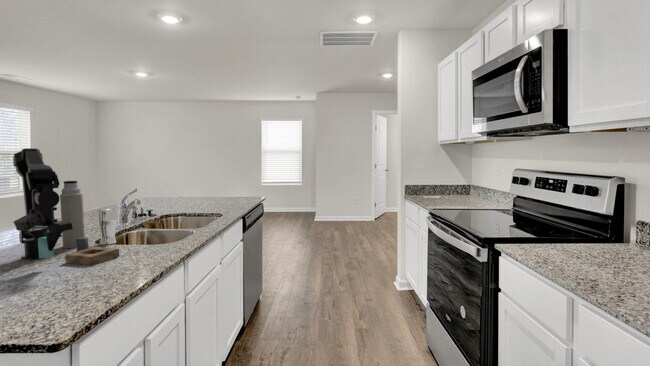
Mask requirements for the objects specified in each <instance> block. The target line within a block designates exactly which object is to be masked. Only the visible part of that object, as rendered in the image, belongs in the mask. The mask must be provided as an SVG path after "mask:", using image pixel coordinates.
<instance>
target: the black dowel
mask: <svg viewBox="0 0 650 366" xmlns="http://www.w3.org/2000/svg"><path fill="white" fill-rule="evenodd" d="M75 248H76V252H77V251H81V250H85V249H88V248H90V246H89V237H86V236H85V237H83V238H77V239H76V247H75Z"/></svg>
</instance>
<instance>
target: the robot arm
mask: <svg viewBox="0 0 650 366" xmlns="http://www.w3.org/2000/svg"><path fill="white" fill-rule="evenodd" d="M12 164H13V165H12V166H13V167H14V168H15V171H16V173H17V174H18V176H20V177H21V180H22V190H23V197H24V198H23V199H24V201H23V202H24V209H25V215H23V216H22V217H20V218H18V219H16V220H14V221H13V224H14V226H15V230H16V231H18V232H19V234H18V238H19V239H18V240H19V243H21V244H22V245H23V244H24V256H23V255H22V256H21V257H20V259H24V260H26V259H27V260H36V259H40V258H39V248H38V238H41V237H46V238H47V244H48V249H49V251H52V250H53V251H54V249H55V247H56V246H57V245H56V244H57V243H58V240H59V238H60V237H61V236H60V235H61V234H62V232H63V231H66V230H71V229H73V223H71V222H70V221H59V222H58V219H59V218H55V211H57V210H58V207H56V206H57V205H58V204H60V194H58V193H57V191H55V190H54V189H59V186H60V180H59V176H58V174H57V173H56V171H55V170H53V168H52V167H51V166H50V165H48V164H45V162H44V159H43V153H42V152H40V149H39V148H32V147H31V148H30V147H29V148H28V147H27V148H22V149H21V151H20V150H19V151H18V152H16V153H14V154H13V157H12Z"/></svg>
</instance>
